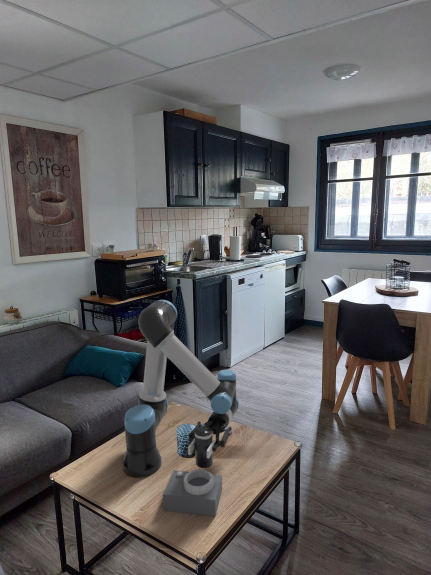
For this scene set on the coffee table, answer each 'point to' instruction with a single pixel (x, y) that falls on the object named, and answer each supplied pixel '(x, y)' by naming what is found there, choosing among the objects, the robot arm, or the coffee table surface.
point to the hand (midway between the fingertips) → (198, 452)
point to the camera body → (193, 492)
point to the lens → (203, 446)
